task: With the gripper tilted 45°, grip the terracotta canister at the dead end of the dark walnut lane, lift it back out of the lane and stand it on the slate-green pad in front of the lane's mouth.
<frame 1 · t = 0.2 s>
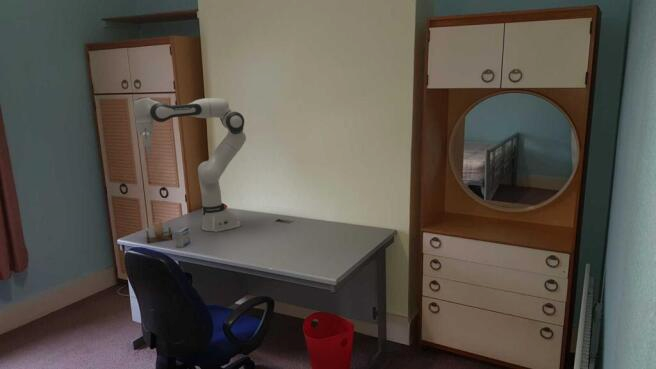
hand: (148, 153, 253), 47 cm above the table, tool pointing down, fingers open, 8 cm apart
terracotta canister: (159, 239, 258), resting in walnut lane
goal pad: (160, 231, 272), on the table
walnut lane: (159, 237, 261), on the table
medicine box: (183, 245, 248), on the table
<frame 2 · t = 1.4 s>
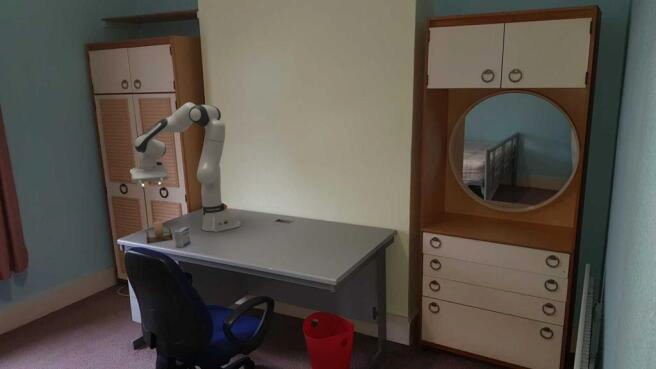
hand: (151, 186, 269), 27 cm above the table, tool tilted 45°, fingers open, 8 cm apart
nothing on the table moved.
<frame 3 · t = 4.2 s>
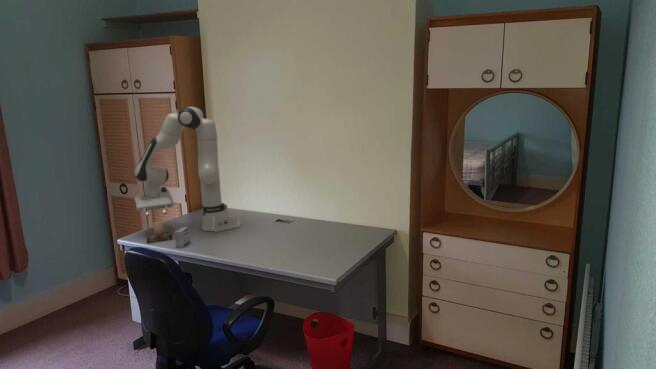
hand: (156, 214, 262), 12 cm above the table, tool tilted 45°, fingers open, 8 cm apart
nothing on the table moved.
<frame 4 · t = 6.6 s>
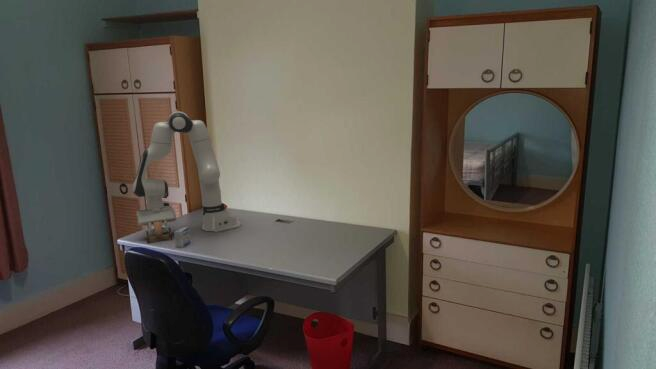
hand: (158, 229, 256), 6 cm above the table, tool tilted 45°, fingers closed on terracotta canister, 4 cm apart
terracotta canister: (159, 239, 258), resting in walnut lane, touching gripper
everything else where it was.
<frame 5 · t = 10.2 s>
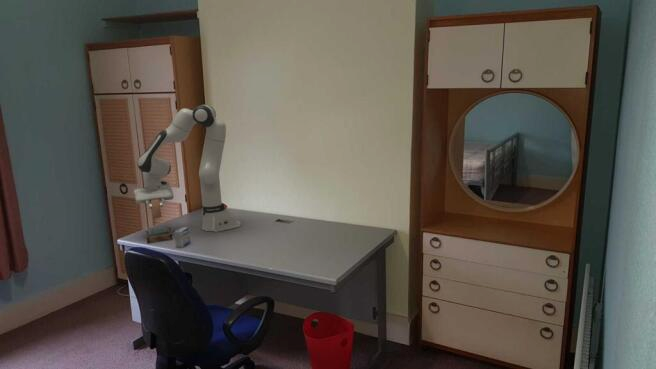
hand: (156, 207, 258), 17 cm above the table, tool tilted 45°, fingers closed on terracotta canister, 4 cm apart
terracotta canister: (157, 217, 260), point 12 cm above the table, touching gripper
everything else where it was.
when the fingers open (7 cm above the table, at t = 14.0 s): terracotta canister stays where it is, resting on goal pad.
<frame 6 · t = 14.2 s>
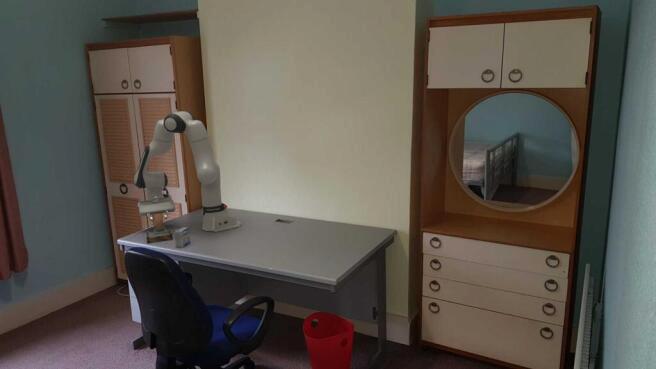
hand: (158, 219, 270), 7 cm above the table, tool tilted 45°, fingers open, 7 cm apart
terracotta canister: (160, 230, 272), point 1 cm above the table, touching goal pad
everything else where it was.
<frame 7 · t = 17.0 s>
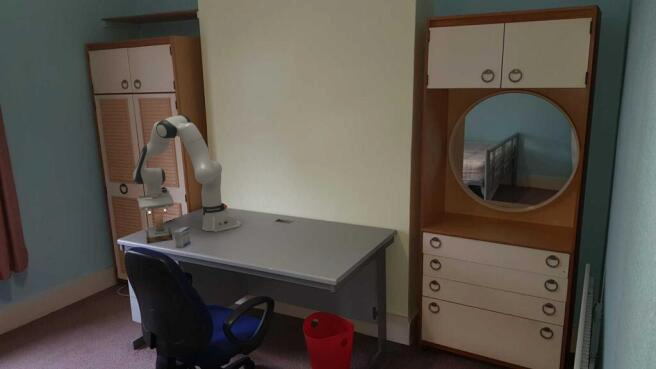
hand: (157, 213, 282), 8 cm above the table, tool tilted 45°, fingers open, 8 cm apart
nothing on the table moved.
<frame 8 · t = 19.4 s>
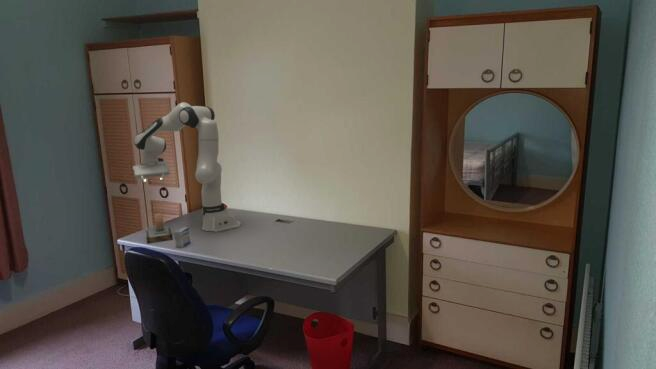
hand: (153, 181, 278), 27 cm above the table, tool tilted 45°, fingers open, 8 cm apart
nothing on the table moved.
at the end: terracotta canister inside the target area (0.1 cm from its centre), resting on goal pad; terracotta canister tilted 0°; the gripper is holding nothing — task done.
